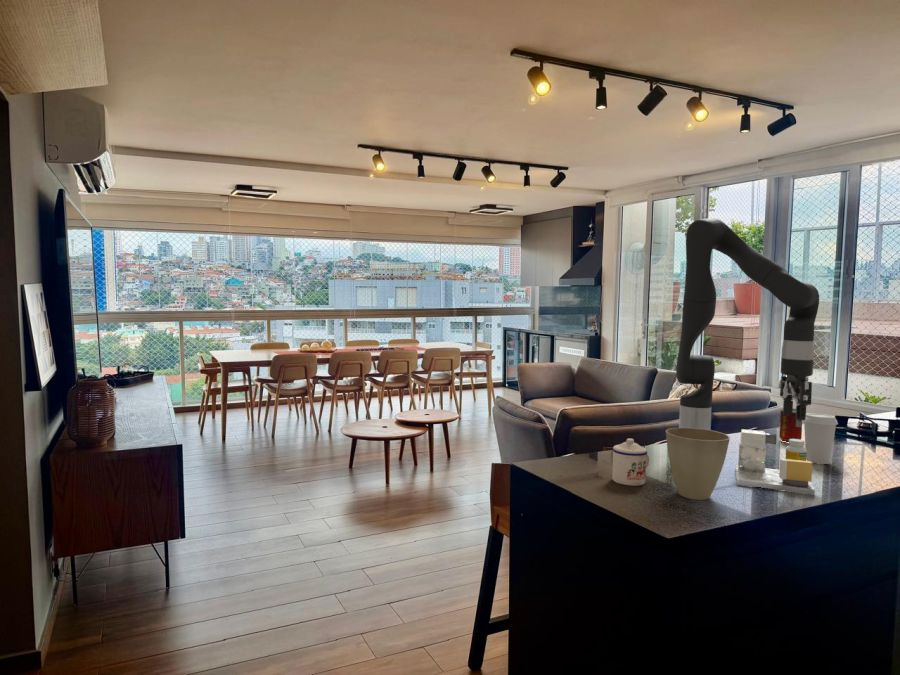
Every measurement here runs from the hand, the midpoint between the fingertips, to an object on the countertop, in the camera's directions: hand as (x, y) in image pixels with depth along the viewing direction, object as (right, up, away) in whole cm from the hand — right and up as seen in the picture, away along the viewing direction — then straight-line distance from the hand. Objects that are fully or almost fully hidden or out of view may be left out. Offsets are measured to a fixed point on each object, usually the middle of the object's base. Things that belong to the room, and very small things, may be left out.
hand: (793, 416), depth 159 cm
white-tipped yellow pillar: (-1, -17, -2) cm, 18 cm away
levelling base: (-3, -19, +4) cm, 19 cm away
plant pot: (-31, -19, -10) cm, 38 cm away
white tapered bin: (+24, -18, +28) cm, 41 cm away
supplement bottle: (+9, -19, +15) cm, 26 cm away
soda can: (+32, -17, +57) cm, 68 cm away
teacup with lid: (-43, -18, +2) cm, 47 cm away
